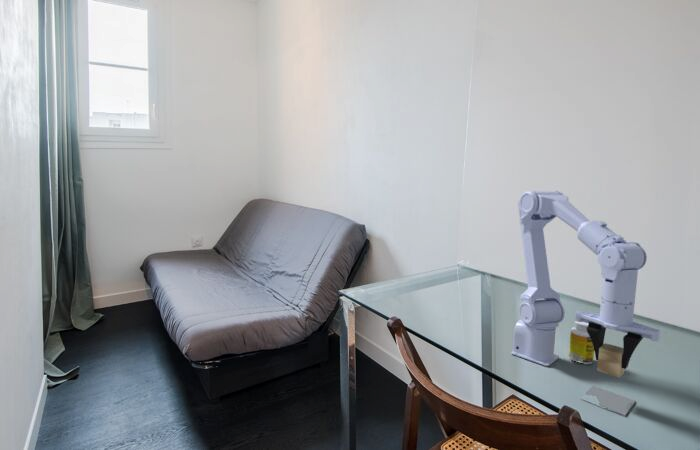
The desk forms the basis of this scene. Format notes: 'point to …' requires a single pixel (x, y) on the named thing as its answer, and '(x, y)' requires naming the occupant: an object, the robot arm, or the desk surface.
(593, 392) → the pad
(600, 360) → the oak block
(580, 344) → the supplement bottle
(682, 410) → the desk surface
